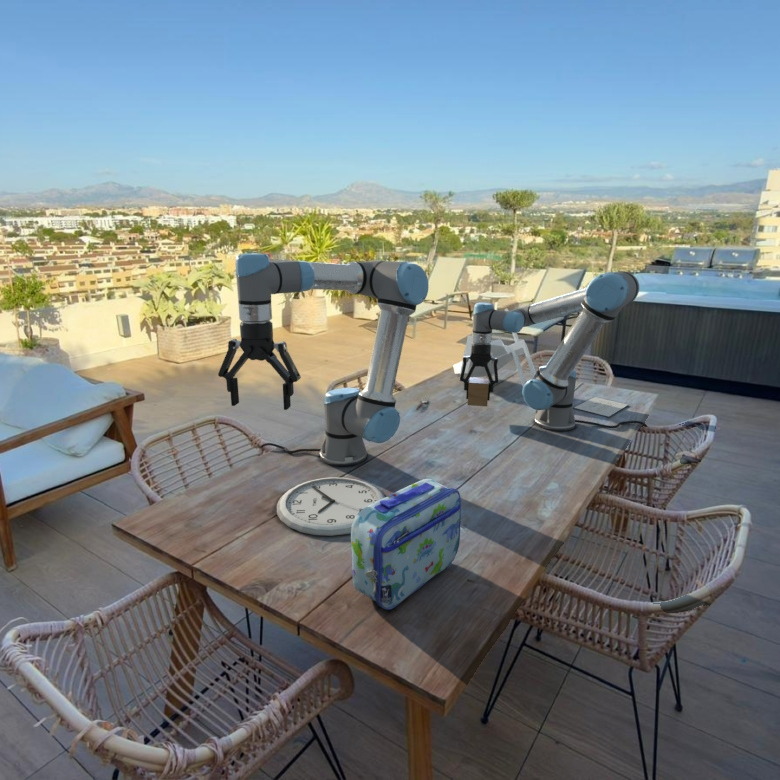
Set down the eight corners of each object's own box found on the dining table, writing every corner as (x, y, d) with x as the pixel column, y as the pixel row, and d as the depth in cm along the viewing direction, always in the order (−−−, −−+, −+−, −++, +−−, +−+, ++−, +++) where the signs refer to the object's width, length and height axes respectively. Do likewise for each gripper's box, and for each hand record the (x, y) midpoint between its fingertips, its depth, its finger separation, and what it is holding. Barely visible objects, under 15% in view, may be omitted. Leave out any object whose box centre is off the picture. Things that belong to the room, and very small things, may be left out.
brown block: (468, 398, 215) (469, 376, 213) (487, 400, 214) (488, 378, 211) (467, 405, 208) (468, 382, 205) (487, 406, 206) (488, 383, 203)
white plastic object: (474, 421, 262) (452, 398, 237) (456, 348, 284) (434, 320, 259) (546, 397, 250) (531, 370, 225) (521, 322, 272) (505, 290, 247)
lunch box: (380, 623, 100) (381, 528, 94) (344, 596, 108) (343, 505, 101) (464, 565, 118) (470, 482, 112) (428, 545, 125) (432, 466, 119)
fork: (413, 410, 217) (413, 405, 217) (424, 399, 232) (424, 394, 231) (419, 411, 217) (419, 406, 216) (429, 399, 231) (430, 395, 230)
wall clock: (392, 527, 129) (268, 531, 127) (391, 533, 130) (269, 537, 127) (383, 473, 158) (282, 475, 155) (383, 478, 158) (282, 480, 156)
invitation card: (608, 416, 214) (573, 407, 224) (608, 416, 214) (573, 408, 224) (628, 404, 229) (594, 396, 238) (628, 405, 229) (594, 397, 238)
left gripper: (198, 321, 122) (206, 407, 128) (301, 326, 118) (304, 414, 124) (214, 316, 129) (221, 398, 135) (311, 320, 125) (314, 404, 131)
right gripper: (454, 343, 202) (451, 399, 209) (508, 346, 198) (504, 403, 205) (455, 339, 209) (452, 394, 216) (508, 342, 205) (503, 397, 212)
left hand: (261, 406), depth 130 cm, fingers open, 13 cm apart
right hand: (477, 398), depth 210 cm, fingers closed on brown block, 8 cm apart
